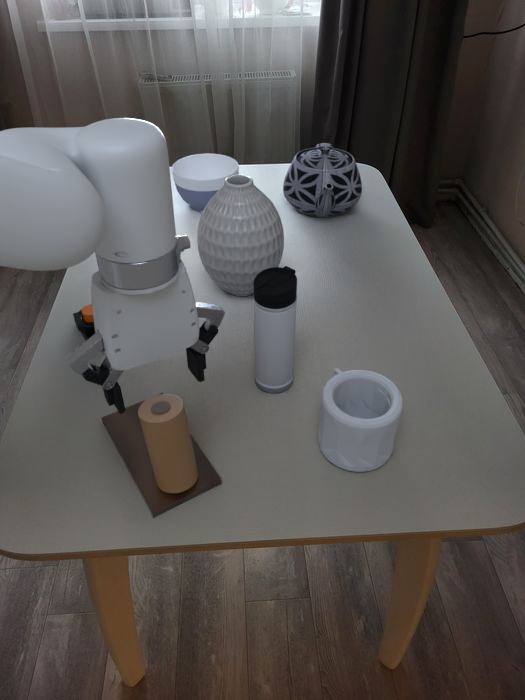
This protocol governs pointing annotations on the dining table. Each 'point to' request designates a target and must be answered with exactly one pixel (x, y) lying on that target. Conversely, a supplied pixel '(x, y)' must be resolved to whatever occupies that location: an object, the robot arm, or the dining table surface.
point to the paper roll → (168, 442)
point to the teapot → (323, 181)
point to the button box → (84, 325)
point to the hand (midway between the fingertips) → (158, 389)
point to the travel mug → (274, 328)
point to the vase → (239, 235)
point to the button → (88, 313)
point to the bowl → (202, 177)
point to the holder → (138, 463)
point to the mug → (359, 419)
